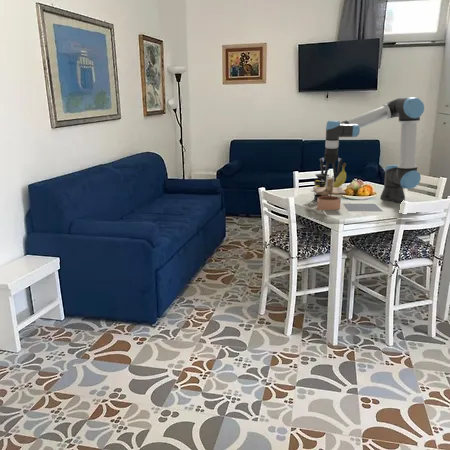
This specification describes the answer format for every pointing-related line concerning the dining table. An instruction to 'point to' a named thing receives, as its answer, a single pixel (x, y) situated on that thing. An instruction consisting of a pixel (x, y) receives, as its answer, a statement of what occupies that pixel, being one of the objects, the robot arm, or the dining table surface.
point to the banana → (338, 178)
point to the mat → (362, 207)
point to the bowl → (328, 203)
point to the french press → (320, 185)
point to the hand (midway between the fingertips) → (329, 186)
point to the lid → (329, 189)
